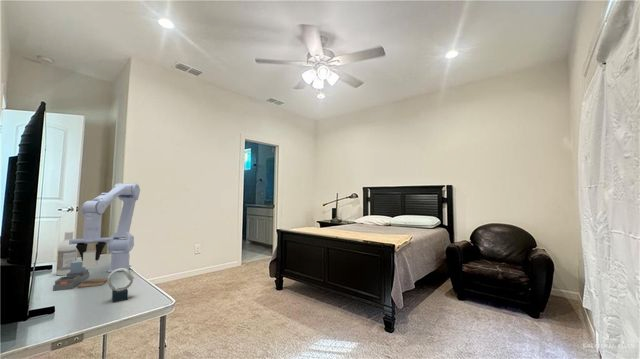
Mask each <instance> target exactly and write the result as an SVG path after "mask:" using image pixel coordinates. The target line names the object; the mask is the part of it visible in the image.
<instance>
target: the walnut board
mask: <svg viewBox="0 0 640 359" xmlns="http://www.w3.org/2000/svg"><path fill="white" fill-rule="evenodd" d="M107 281H108V277H104V278H102V277H101V278H92V279H85V280H83V281H82V282H81V283H79V284H78V285H77V288H78V289H80V288H81V289H83V288H91V287H101V286H102V287H103V285H104V284H105V283H106V282H107Z"/></svg>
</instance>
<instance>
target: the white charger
mask: <svg viewBox="0 0 640 359" xmlns="http://www.w3.org/2000/svg"><path fill="white" fill-rule="evenodd" d="M95 258H96V249H95V250H86V252H84V253H83V266H82V267H85V268H90V267H91V268H92V267H96V266H97V265H98V264H99V260H96V259H95Z"/></svg>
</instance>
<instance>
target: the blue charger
mask: <svg viewBox="0 0 640 359" xmlns="http://www.w3.org/2000/svg"><path fill="white" fill-rule="evenodd" d="M82 266H83V261H82V259H80V260H78V259H77V261H73V262H71V268H70V273H80V272H84V271H85V269H86V267H82Z"/></svg>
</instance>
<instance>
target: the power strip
mask: <svg viewBox="0 0 640 359" xmlns="http://www.w3.org/2000/svg"><path fill="white" fill-rule="evenodd" d="M89 277H90V271H89V268H88V269H87V268H85V271H84V272H80V273H70V272H69V273H67V275H65V276H60V278H58V279H56V280H54V284H53V285H52V291H53V292H55V291H56V292H57V291H65V290H73V289H74V288H75V287H78V286H79V285H80V284H82V283H83V282H84V281H86V280H87V279H88V278H89Z"/></svg>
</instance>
